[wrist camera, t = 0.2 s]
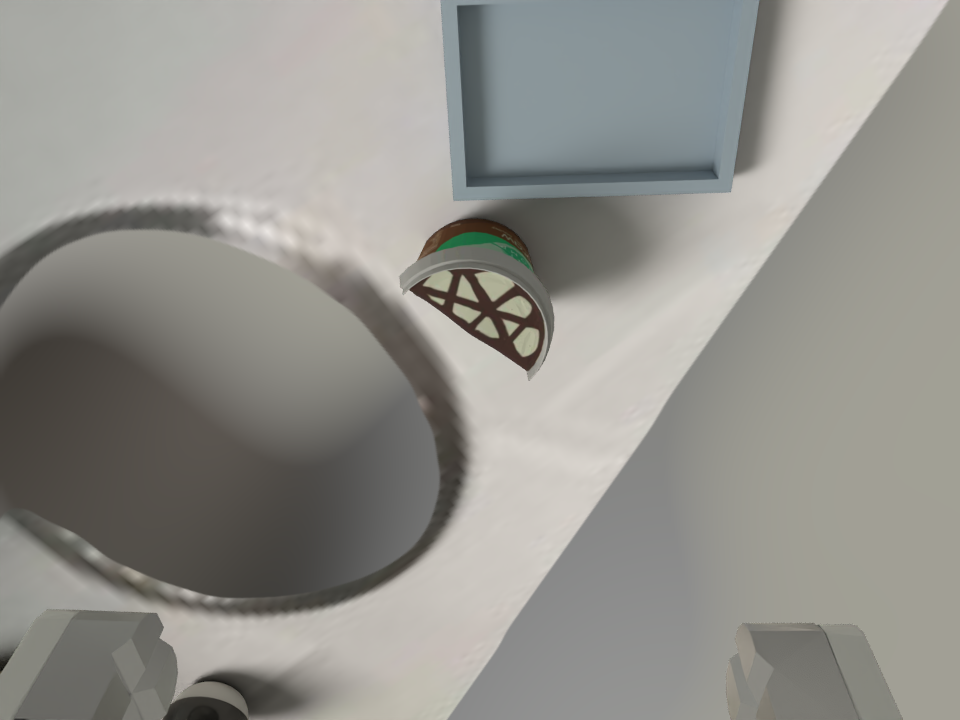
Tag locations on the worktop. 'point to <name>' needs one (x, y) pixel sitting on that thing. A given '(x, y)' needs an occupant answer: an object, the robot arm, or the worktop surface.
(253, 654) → the worktop surface
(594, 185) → the tray
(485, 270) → the food container
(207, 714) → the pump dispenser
